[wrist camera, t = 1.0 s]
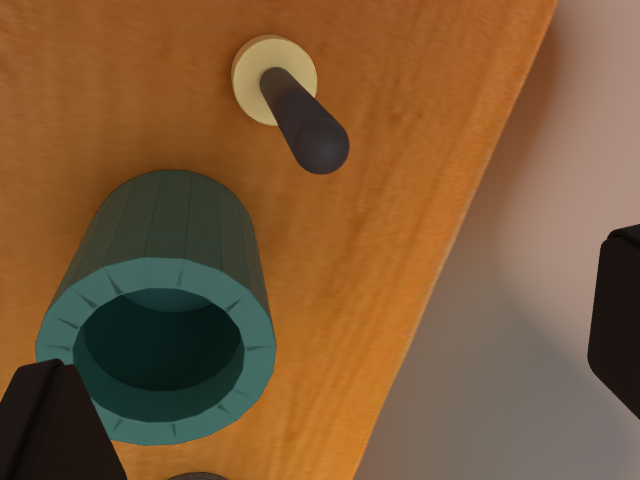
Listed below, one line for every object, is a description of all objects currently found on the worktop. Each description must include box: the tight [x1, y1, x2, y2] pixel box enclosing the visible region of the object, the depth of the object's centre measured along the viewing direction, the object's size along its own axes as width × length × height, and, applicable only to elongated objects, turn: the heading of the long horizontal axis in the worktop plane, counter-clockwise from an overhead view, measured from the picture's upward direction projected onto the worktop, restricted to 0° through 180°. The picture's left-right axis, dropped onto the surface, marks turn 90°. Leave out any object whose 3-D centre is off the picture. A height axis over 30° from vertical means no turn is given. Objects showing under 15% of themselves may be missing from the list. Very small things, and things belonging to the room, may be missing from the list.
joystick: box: [231, 35, 349, 175], centre depth 26 cm, size 5×5×18 cm
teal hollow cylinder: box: [35, 170, 277, 446], centre depth 32 cm, size 11×11×13 cm
